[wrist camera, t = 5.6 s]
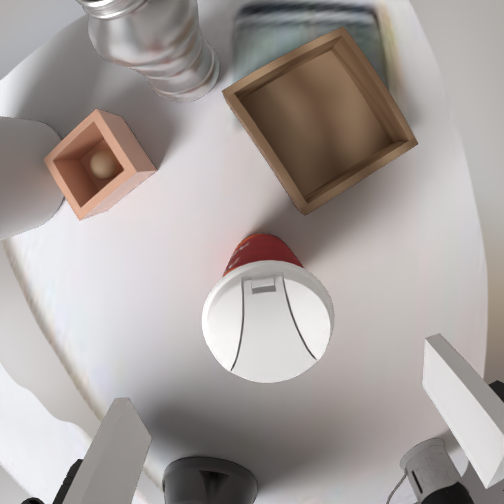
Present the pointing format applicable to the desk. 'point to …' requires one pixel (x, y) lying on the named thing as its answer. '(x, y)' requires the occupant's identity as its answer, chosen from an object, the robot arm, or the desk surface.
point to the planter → (79, 156)
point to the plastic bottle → (155, 44)
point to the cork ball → (104, 164)
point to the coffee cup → (267, 313)
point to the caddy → (320, 118)
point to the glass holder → (433, 475)
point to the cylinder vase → (26, 176)
